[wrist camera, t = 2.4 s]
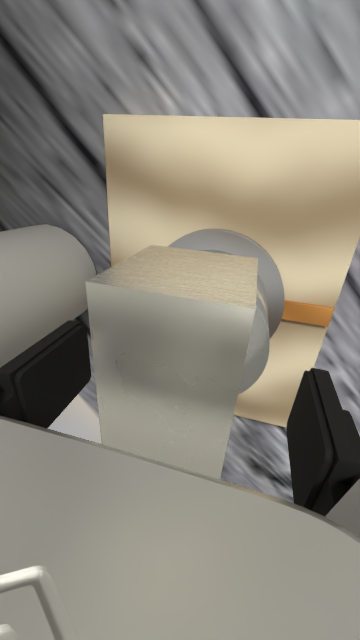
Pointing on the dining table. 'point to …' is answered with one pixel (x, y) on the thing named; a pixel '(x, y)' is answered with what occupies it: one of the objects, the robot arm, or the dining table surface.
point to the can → (39, 285)
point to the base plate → (246, 218)
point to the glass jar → (176, 351)
